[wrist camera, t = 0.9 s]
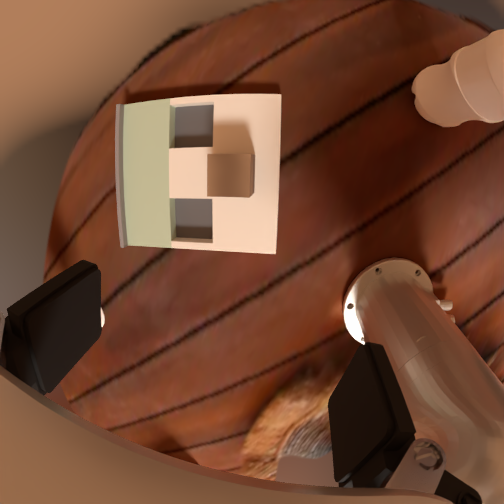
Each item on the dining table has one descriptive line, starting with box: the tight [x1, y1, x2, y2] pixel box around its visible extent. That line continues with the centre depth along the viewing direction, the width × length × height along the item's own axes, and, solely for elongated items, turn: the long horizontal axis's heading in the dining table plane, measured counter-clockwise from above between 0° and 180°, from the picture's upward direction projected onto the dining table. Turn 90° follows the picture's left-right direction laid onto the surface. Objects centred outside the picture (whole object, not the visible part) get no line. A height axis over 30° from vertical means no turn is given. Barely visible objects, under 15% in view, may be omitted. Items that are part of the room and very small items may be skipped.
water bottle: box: [412, 29, 504, 127], centre depth 14 cm, size 7×7×25 cm
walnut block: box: [207, 154, 255, 198], centre depth 28 cm, size 4×4×4 cm
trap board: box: [115, 94, 282, 254], centre depth 31 cm, size 18×17×3 cm
